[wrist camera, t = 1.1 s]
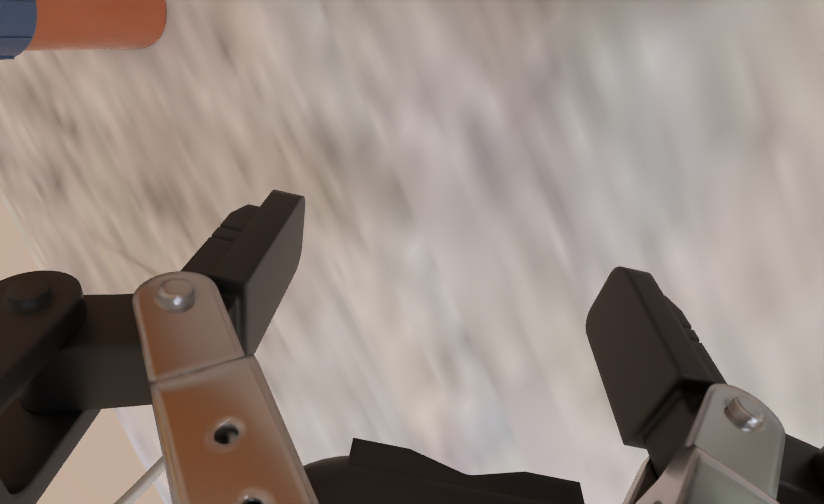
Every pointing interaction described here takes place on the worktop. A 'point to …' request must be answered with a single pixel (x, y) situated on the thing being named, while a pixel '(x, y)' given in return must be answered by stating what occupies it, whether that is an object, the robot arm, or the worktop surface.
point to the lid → (16, 26)
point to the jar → (97, 24)
